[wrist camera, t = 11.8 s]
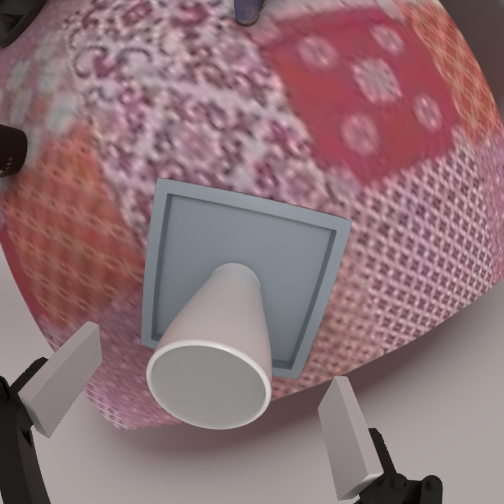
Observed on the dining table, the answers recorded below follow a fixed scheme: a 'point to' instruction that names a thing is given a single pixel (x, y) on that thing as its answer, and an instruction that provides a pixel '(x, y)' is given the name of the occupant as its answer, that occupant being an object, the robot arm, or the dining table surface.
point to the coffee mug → (11, 150)
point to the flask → (248, 10)
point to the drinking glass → (216, 354)
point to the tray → (242, 261)
